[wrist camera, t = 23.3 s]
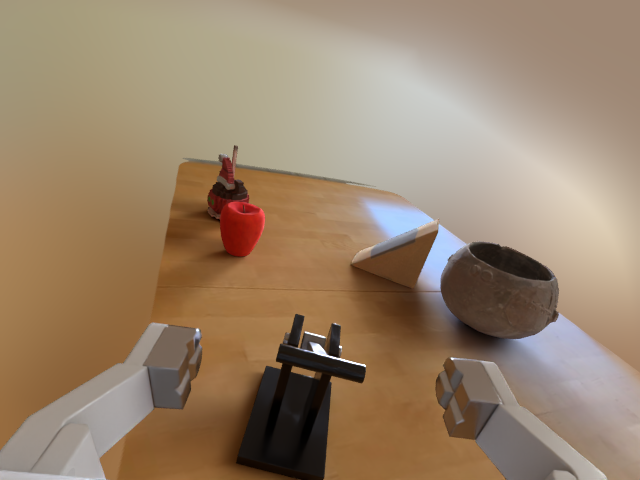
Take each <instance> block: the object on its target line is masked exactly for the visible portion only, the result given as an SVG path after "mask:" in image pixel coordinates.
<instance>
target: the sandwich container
mask: <svg viewBox="0 0 640 480" xmlns="http://www.w3.org/2000/svg"><path fill="white" fill-rule="evenodd" d="M438 225H439V219H437V220H435V221H432V222H430V223H427V224H425V225H423V226H420V227H418V228H416V229H413V230H411V231H409V232H406V233H404V234H401V235H399V236H396V237H394V238H391V239H389V240H386V241H384V242H382V243H379V244H377V245H374V246H372V247H369V248H367V249H364V250H361V251H359V252H358V253H357V254H356V255H355V257H354V258H353V260H352V262H351V265H353V266H355V267H358V268H360V269H363V270H365V271H368V272H370V273H373V274H375V275H378V276H381V277H383V278H386V279H388V280H391V281H393V282H396V283H399V284H401V285H404V286H407V287H410V288H412V289H413V288H414V286H415V284H416V281H417V279H418V277H419V275H420V272H421V270H422V268H423V266H424V263H425V261H426V259H427V256H428V254H429V252H430V250H431V247H432V245H433V243H434V240H435V238H436V236H437V234H438Z"/></svg>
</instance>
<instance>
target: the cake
mask: <svg viewBox="0 0 640 480" xmlns="http://www.w3.org/2000/svg"><path fill="white" fill-rule="evenodd" d="M237 149H238V146H234V150H233V158H232V164H231V161H230V158H228V155H226V154H220V155H219V161H220V162H222V163H223V164H222V169H221V171H220V174H219V176H218V177H217V181H218V182H216V184H214V185H213V189H211V190H210V192H209V195H208V200H207V201H208V205H209V206H210V207H208V213H209V214H210V215H211V216H212V217H215V218H216V219H220V215H221V211H222V209H223V207H224V205H226V204H227V203H230V202H245V203H248V202H249V195H248V193H247V190H246V189H245V187H244V186H243V184H244V183H243V182H242V181H241V180H234V173H235V165H236V157H237Z"/></svg>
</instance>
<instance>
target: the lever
mask: <svg viewBox="0 0 640 480" xmlns="http://www.w3.org/2000/svg"><path fill="white" fill-rule="evenodd" d="M325 342H326V338H325V337H324V336H320V335H316V334H313V333H309V332H304V335H303V339H302V343H301V347H300V348H297V347H293V346H289V345H285V344H280V347H279V350H278V354H277V358H276V362H280V363H284V364H288V365H292V366H296V367H299V368H303V369H307V370H311V371H315V372H319V373H323V374H327V375H331V376H335V377H338V378H342V379H346V380H350V381H354V382H358V383H363V381H364V378H365V373H366V366H365V365H363V364H359V363H355V362H351V361H347V360H344V359H340V358H336V357H332V356H328V355H327V354H326V352H325V351H324V346H325Z"/></svg>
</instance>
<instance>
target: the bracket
mask: <svg viewBox="0 0 640 480" xmlns="http://www.w3.org/2000/svg"><path fill="white" fill-rule="evenodd" d="M303 321H304V316H302V315H298V314H295V318H294V322H293V326H292V329H291V333H285V337H284V341H283V344H285V345H289V346H293V347H297V348H298V344H299V340H300V335H301V331H302V326H303ZM340 329H341V326H340V325H337V324H333V323H332V324H331V327H330V330H329V333H328V336H327V340H326V343H325V346H324V351H325V352H326V354H327V355H328V356H332V357H336V358H340V356H341V352H342V347H341V346H340ZM291 369H292V365H288V364H284V363H282V367H281V369H277V368H273V367H269V366H266V368H265V371H264V375H263V378H262V381H261V384H260V387H259V390H258V394H257V397H256V400H255V403H254V406H253V409H252V412H251V416H250V419H249V422H248V425H247V428H246V431H245V434H244V438H243V441H242V444H241V447H240V450H239V453H238V457H237V461H236V463H237V464H241V465H245V466H249V467H253V468H257V469H261V470H265V471H269V472H273V473H277V474H281V475H285V476H288V477H292V478H296V479H300V480H323V479H324V474H325V461H326V448H327V435H328V422H329V409H330V396H331V384H332V383H331V382H330V379H331V375H327V374H323V373H319V372H316V373H315V376H314V378H312V377H308V376H305V375H301V374H297V373H293V372H291Z"/></svg>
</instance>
